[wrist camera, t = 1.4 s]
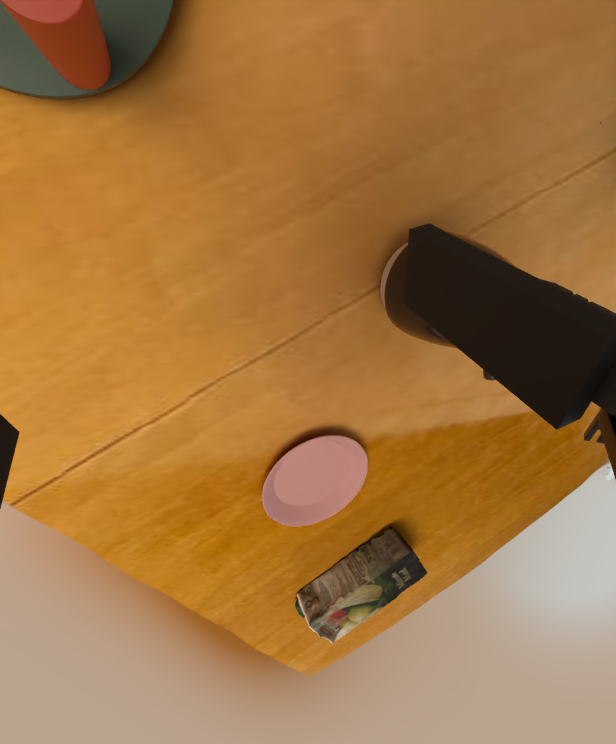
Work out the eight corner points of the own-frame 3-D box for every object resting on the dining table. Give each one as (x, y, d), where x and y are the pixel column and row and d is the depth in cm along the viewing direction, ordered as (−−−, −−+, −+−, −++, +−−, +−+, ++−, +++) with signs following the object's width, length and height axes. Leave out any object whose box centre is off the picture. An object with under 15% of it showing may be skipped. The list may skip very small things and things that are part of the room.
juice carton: (315, 616, 62) (330, 654, 57) (288, 596, 57) (303, 636, 52) (407, 545, 64) (430, 576, 59) (390, 519, 58) (413, 550, 53)
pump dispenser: (354, 321, 39) (453, 388, 26) (380, 218, 35) (512, 239, 22) (427, 327, 43) (542, 387, 31) (458, 235, 39) (606, 262, 26)
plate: (379, 454, 50) (387, 463, 48) (310, 526, 51) (316, 538, 50) (313, 407, 42) (320, 416, 40) (233, 494, 43) (237, 507, 42)
